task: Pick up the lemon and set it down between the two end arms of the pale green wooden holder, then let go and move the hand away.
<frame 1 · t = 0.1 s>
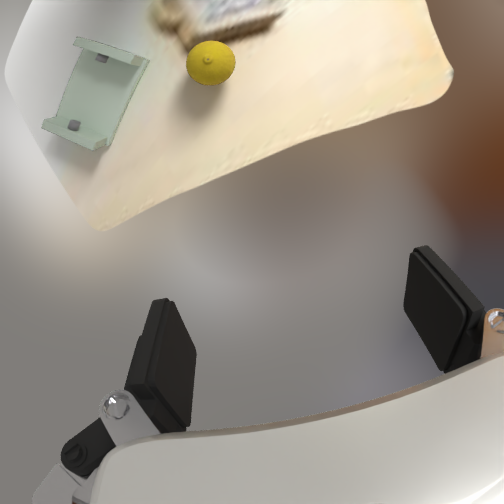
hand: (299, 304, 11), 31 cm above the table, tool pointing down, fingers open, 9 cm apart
lemon: (213, 66, 32), on the table
holder: (99, 90, 32), on the table
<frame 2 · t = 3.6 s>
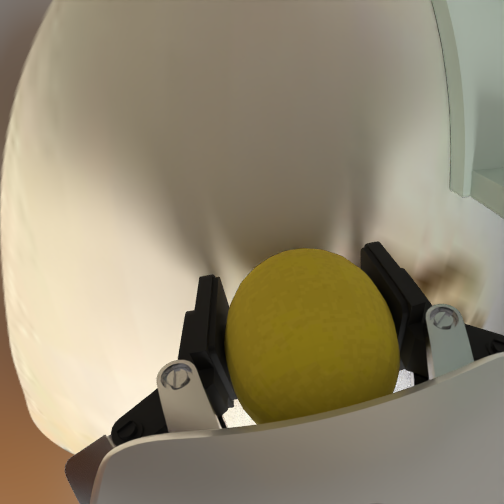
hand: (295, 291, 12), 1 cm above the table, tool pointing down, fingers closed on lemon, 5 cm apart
lemon: (289, 270, 13), on the table, touching gripper
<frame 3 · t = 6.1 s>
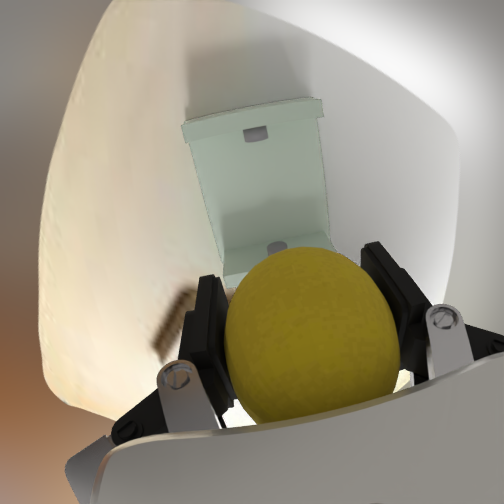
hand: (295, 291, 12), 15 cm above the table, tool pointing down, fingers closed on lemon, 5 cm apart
lemon: (289, 269, 13), point 13 cm above the table, touching gripper
holder: (263, 181, 25), on the table
when the fingers open (4 cm above the table, at t = 8.7 s): lemon drops 2 cm, resting on holder.
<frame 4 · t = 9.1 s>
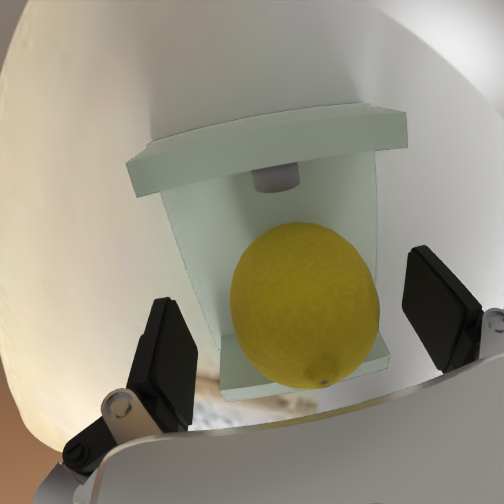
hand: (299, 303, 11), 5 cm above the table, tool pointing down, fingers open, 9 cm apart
lemon: (287, 248, 15), point 1 cm above the table, touching holder
holder: (280, 239, 16), on the table
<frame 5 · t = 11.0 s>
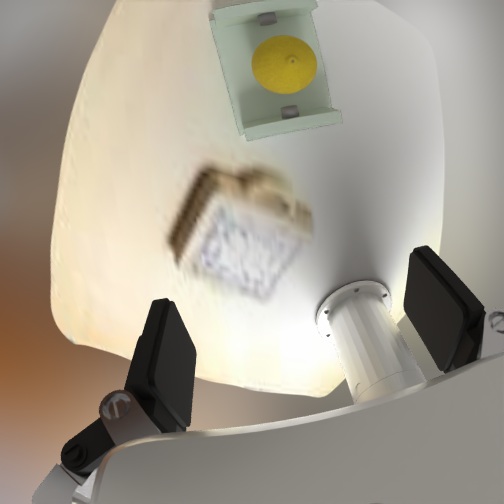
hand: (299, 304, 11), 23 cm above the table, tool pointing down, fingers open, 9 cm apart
lemon: (276, 67, 25), point 1 cm above the table, touching holder
holder: (272, 66, 26), on the table
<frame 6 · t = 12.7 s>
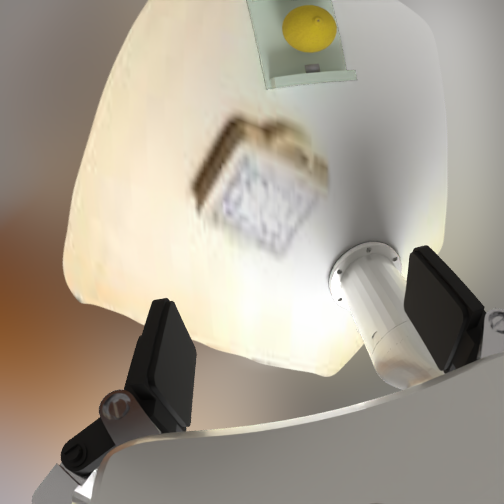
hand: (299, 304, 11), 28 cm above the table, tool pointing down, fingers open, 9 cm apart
lemon: (300, 36, 28), point 1 cm above the table, touching holder
holder: (297, 36, 28), on the table
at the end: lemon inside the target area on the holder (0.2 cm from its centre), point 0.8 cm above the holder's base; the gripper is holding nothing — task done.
